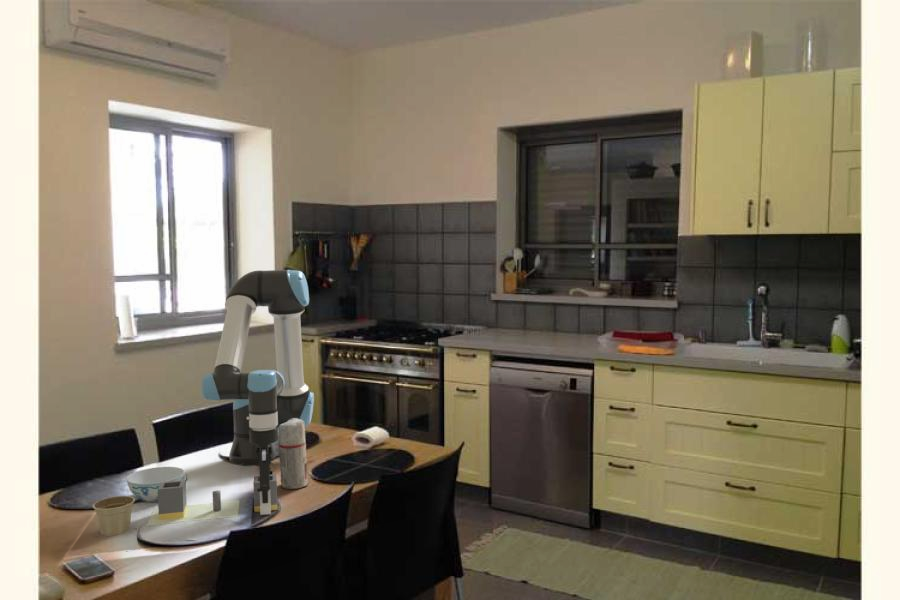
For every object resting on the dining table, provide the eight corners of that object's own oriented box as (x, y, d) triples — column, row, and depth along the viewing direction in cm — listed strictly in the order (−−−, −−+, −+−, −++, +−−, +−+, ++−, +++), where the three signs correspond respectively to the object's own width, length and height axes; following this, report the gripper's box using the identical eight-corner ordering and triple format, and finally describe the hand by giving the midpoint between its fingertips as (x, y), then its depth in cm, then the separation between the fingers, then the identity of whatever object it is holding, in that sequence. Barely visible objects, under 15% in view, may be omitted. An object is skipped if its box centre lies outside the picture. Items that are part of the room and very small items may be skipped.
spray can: (301, 491, 203) (299, 423, 201) (275, 489, 204) (273, 422, 203) (312, 481, 211) (311, 416, 210) (287, 480, 213) (285, 416, 211)
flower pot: (103, 529, 176) (102, 496, 175) (141, 527, 177) (140, 494, 176) (87, 544, 167) (85, 509, 166) (128, 543, 168) (126, 508, 167)
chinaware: (129, 515, 185) (127, 487, 185) (126, 498, 199) (125, 471, 198) (188, 505, 192) (187, 478, 192) (182, 489, 206) (181, 463, 205)
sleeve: (255, 504, 192) (254, 476, 192) (277, 502, 194) (276, 474, 193) (254, 512, 187) (253, 483, 186) (277, 509, 188) (276, 480, 187)
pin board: (154, 513, 186) (153, 490, 186) (240, 505, 191) (239, 482, 191) (146, 531, 174) (145, 506, 174) (237, 521, 180) (236, 497, 179)
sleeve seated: (162, 511, 184) (161, 482, 183) (186, 509, 185) (185, 479, 185) (158, 519, 178) (157, 489, 177) (183, 517, 179) (182, 487, 179)
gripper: (250, 418, 199) (253, 493, 201) (247, 439, 176) (250, 523, 178) (277, 416, 201) (279, 490, 202) (277, 437, 178) (280, 520, 180)
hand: (266, 506), depth 190 cm, fingers open, 11 cm apart
